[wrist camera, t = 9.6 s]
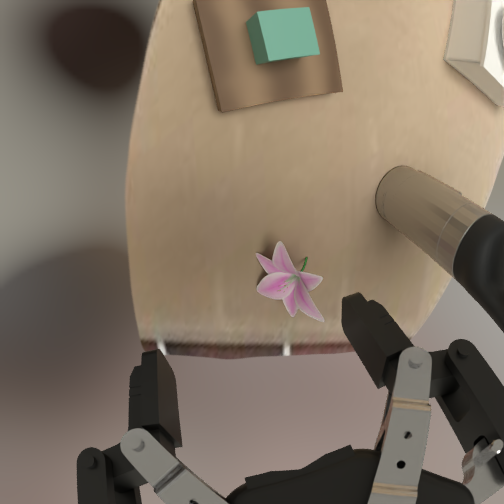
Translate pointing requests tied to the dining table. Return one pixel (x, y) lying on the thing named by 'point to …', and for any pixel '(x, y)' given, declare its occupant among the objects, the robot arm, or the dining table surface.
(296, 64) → the walnut base
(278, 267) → the lily
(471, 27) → the butter dish
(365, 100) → the dining table surface
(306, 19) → the green cube
